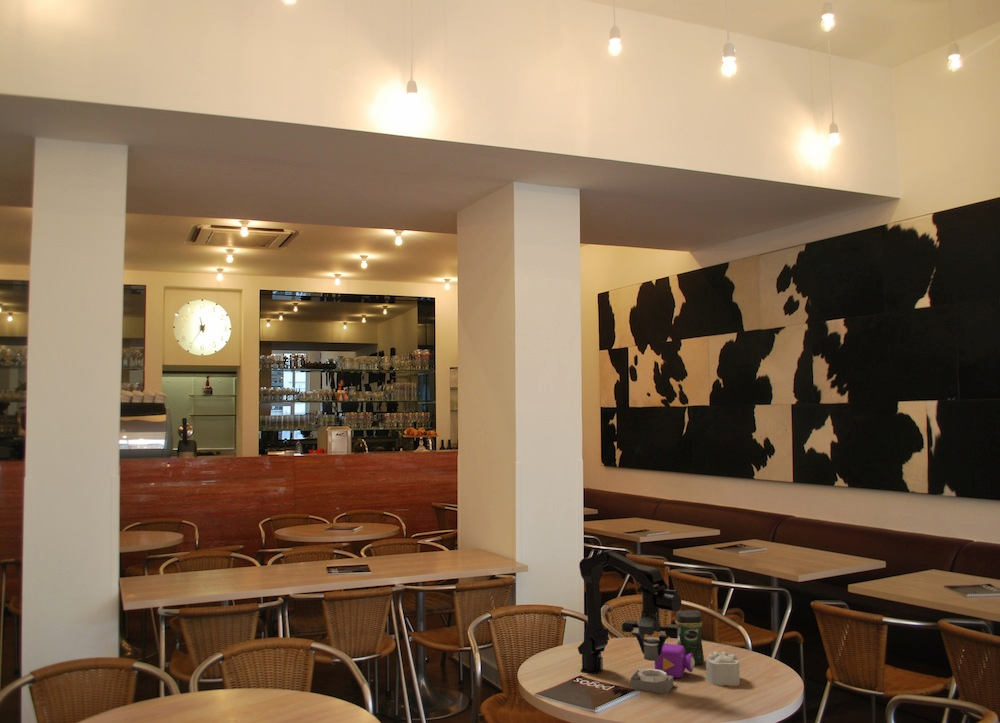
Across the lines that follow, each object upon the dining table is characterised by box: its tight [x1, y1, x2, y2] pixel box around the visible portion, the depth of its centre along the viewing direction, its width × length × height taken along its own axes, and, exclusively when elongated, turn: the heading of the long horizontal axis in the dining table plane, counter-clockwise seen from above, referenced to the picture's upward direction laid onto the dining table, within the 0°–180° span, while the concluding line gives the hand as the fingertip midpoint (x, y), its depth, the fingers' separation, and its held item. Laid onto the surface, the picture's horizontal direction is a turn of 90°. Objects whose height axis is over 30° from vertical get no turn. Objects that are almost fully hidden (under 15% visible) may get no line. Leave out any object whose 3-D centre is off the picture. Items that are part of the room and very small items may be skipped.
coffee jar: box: [675, 609, 705, 665], centre depth 304 cm, size 10×8×19 cm
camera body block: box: [630, 668, 674, 695], centre depth 276 cm, size 12×9×4 cm
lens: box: [643, 637, 660, 662], centre depth 277 cm, size 5×5×6 cm
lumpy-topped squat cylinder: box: [705, 650, 741, 687], centre depth 284 cm, size 10×13×9 cm
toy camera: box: [654, 641, 696, 679], centre depth 290 cm, size 11×14×10 cm
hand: (651, 654), depth 277 cm, fingers closed on lens, 5 cm apart
